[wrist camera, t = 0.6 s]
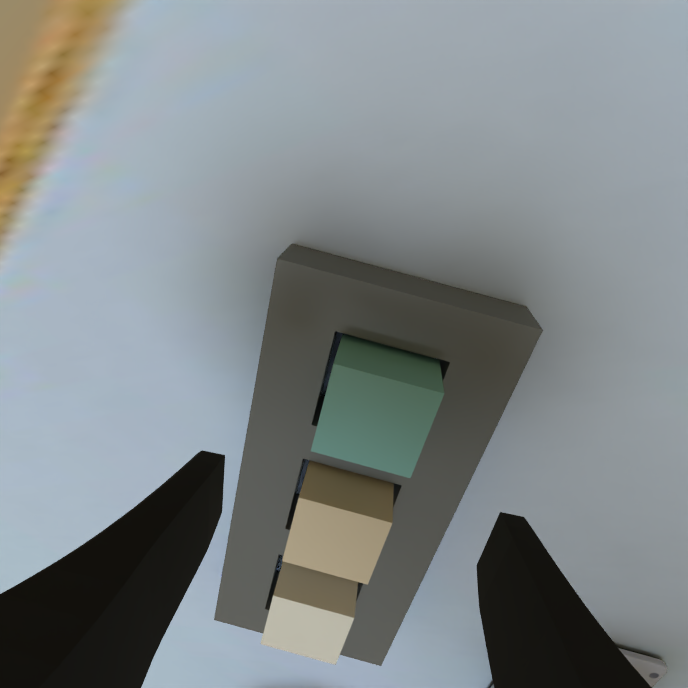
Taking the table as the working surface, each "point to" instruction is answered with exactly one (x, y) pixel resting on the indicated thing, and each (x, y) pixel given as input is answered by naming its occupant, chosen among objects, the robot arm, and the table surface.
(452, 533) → the table surface
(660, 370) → the table surface
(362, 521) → the block
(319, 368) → the keypad
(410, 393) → the key teal
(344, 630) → the key ivory
